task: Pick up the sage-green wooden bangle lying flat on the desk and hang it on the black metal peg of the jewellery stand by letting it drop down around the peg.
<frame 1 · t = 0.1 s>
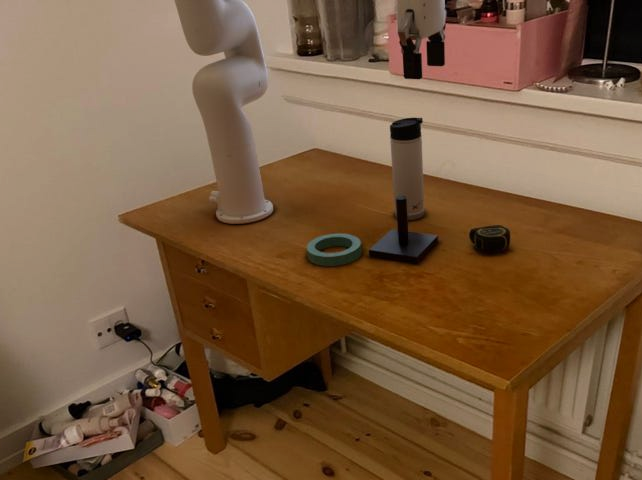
hand: (424, 72, 121), 31 cm above the table, tool pointing down, fingers open, 9 cm apart
tape measure: (488, 248, 134), on the table
stand: (404, 249, 135), on the table
bangle: (334, 254, 136), on the table
travel mug: (410, 215, 149), on the table
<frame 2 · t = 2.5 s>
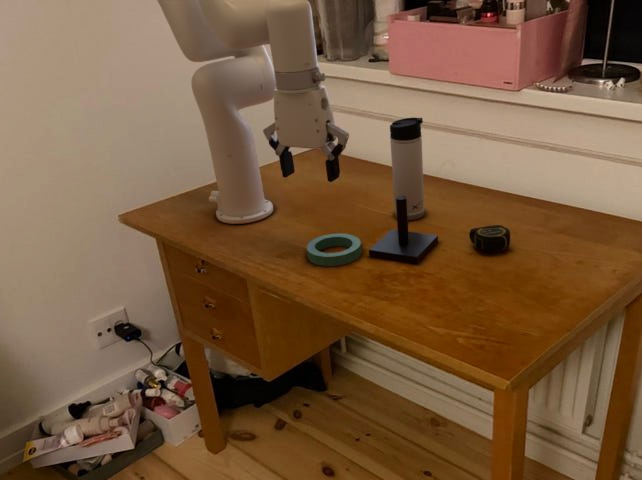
hand: (311, 177, 129), 15 cm above the table, tool pointing down, fingers open, 9 cm apart
nothing on the table moved.
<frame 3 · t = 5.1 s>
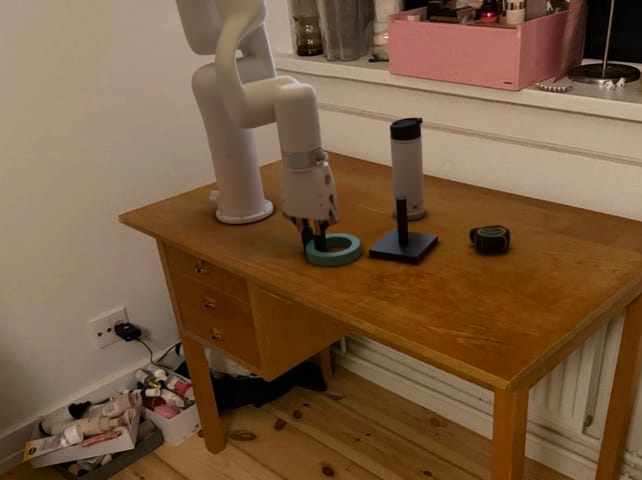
hand: (315, 249, 137), 0 cm above the table, tool pointing down, fingers closed on bangle, 2 cm apart
bangle: (334, 254, 136), on the table, touching gripper
everything else where it was.
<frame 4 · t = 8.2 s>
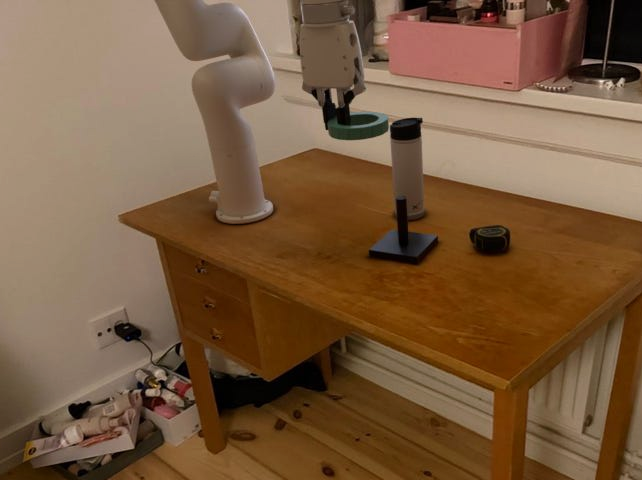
hand: (337, 127, 124), 23 cm above the table, tool pointing down, fingers closed on bangle
bangle: (358, 131, 122), point 23 cm above the table, touching gripper
everything else where it was.
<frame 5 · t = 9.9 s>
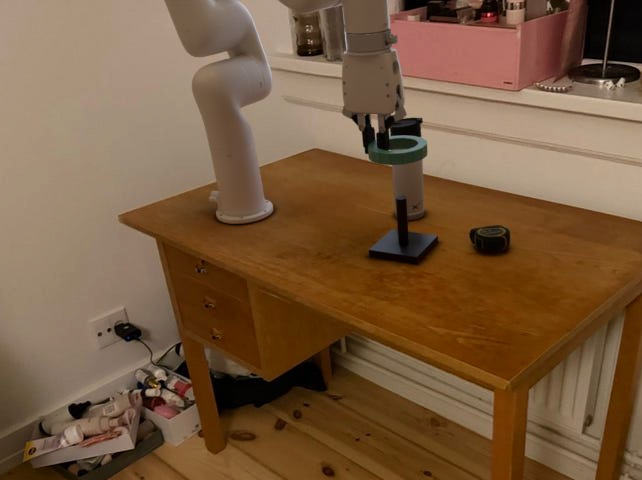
hand: (376, 151, 127), 19 cm above the table, tool pointing down, fingers closed on bangle
bangle: (398, 155, 125), point 18 cm above the table, touching gripper
everything else where it was.
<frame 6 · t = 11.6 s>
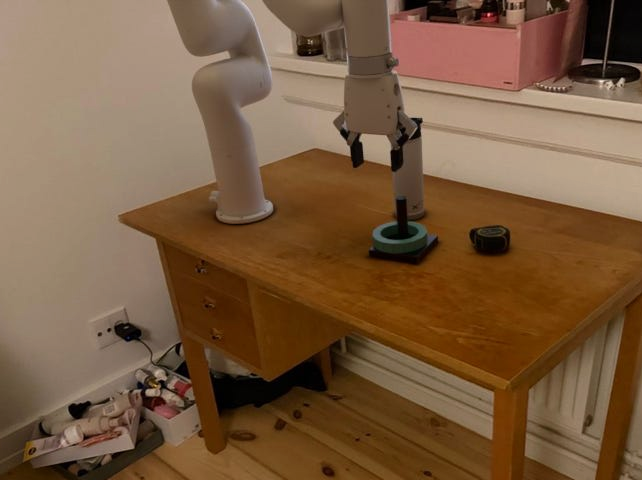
hand: (377, 167, 128), 16 cm above the table, tool pointing down, fingers open, 7 cm apart
bangle: (400, 241, 135), point 1 cm above the table, touching stand
everything else where it was.
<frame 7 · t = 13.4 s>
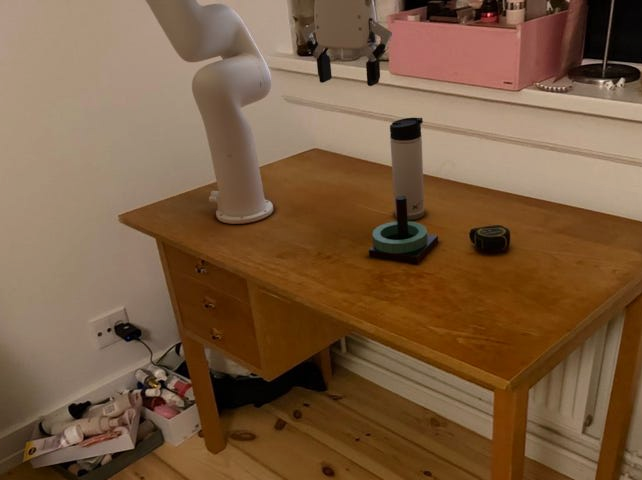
hand: (349, 82, 124), 30 cm above the table, tool pointing down, fingers open, 9 cm apart
nothing on the table moved.
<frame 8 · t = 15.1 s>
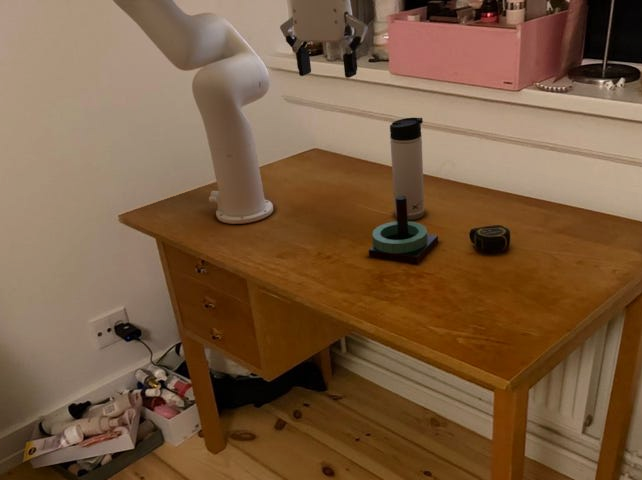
hand: (327, 75, 128), 30 cm above the table, tool pointing down, fingers open, 9 cm apart
nothing on the table moved.
at the end: bangle 0.9 cm from the stand (horizontally); bangle point 1.5 cm above the table; the gripper is holding nothing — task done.
